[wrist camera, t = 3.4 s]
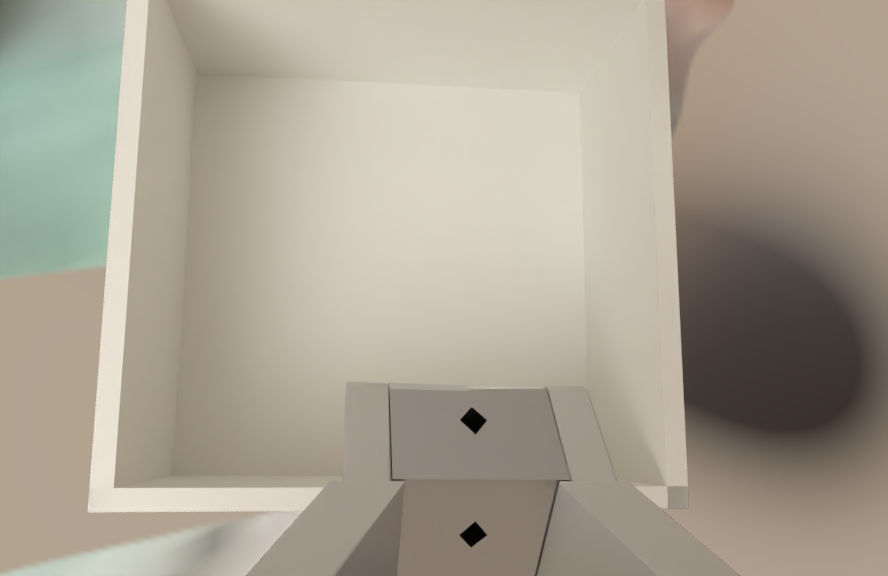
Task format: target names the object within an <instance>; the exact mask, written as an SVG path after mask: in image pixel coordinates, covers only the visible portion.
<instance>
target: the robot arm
mask: <svg viewBox="0 0 888 576" xmlns="http://www.w3.org/2000/svg"><path fill="white" fill-rule="evenodd" d="M246 576H740V575H739V574H737V573H736V572H735V571H734V570H733V569H732V568H730V567H729V566H728V565H727V564H725V563H724V562H723V561H722V560H721V559H720V558H719V557H717V556H716V555H715V554H714V553H712V552H711V551H710V550H709V549H708V548H707V547H706V546H704V545H703V544H702V543H701V542H699V541H698V540H697V539H696V538H695V537H694V536H692V535H691V534H690V533H689V532H688V531H687V530H685V529H684V528H683V527H682V526H681V525H679V524H678V523H677V522H676V521H675V520H674V519H672V518H671V517H670V516H669V515H667V514H666V513H665V512H664V511H663V510H662V509H661V508H659V507H658V506H657V505H656V504H655V503H653V502H652V501H651V500H650V499H649V498H648V497H646V496H645V495H644V494H643V493H642V492H640V491H639V490H638V489H637V488H636V487H634V486H633V485H632V484H631V483H630V482H617V479H616V476H615V473H614V469H613V466H612V463H611V460H610V457H609V454H608V451H607V448H606V445H605V442H604V439H603V436H602V433H601V430H600V427H599V424H598V421H597V418H596V415H595V412H594V409H593V406H592V403H591V399H590V396H589V393H588V391H587V390H586V389H585V388H584V387H583V386H544V387H541V386H461V385H436V384H411V383H388V386H387V384H386V383H367V382H347V385H346V390H345V417H344V446H343V476H342V481H329V483H328V484H327V485H326V486H325V487H324V488H323V489H322V491H321V492H320V493H319V494H318V495H317V496H316V497H315V498H314V500H313V501H312V502H311V503H310V504H309V505H308V506H307V507H306V509H305V510H304V511H303V512H302V513H301V514H300V515H299V516H298V518H297V519H296V520H295V521H294V522H293V523H292V524H291V525H290V527H289V528H288V529H287V530H286V531H285V532H284V533H283V534H282V536H281V537H280V538H279V539H278V540H277V541H276V542H275V543H274V545H273V546H272V547H271V548H270V549H269V550H268V551H267V553H266V554H265V555H264V556H263V557H262V558H261V559H260V560H259V562H258V563H257V564H256V565H255V566H254V567H253V568H252V569H251V571H250V572H249V573H248V574H247V575H246Z"/></svg>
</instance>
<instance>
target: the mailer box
mask: <svg viewBox="0 0 888 576" xmlns="http://www.w3.org/2000/svg"><path fill="white" fill-rule="evenodd" d="M679 309H680V308H679V288H678V266H677V245H676V224H675V203H674V183H673V162H672V140H671V119H670V97H669V76H668V55H667V34H666V13H665V0H127V5H126V18H125V31H124V44H123V57H122V70H121V83H120V96H119V109H118V122H117V135H116V149H115V162H114V175H113V188H112V201H111V214H110V227H109V240H108V253H107V266H106V279H105V293H104V305H103V318H102V331H101V344H100V357H99V370H98V383H97V397H96V409H95V410H96V411H95V423H94V435H93V448H92V462H91V475H90V489H89V502H88V512H203V511H204V512H206V511H208V512H211V511H304V510H305V509H306V507H307V506H308V505H309V504H310V503H311V502H312V501H313V500H314V498H315V497H316V496H317V495H318V494H319V493H320V492H321V491H322V489H323V488H324V487H325V486H326V485H327V484H328V483H329V481H342V476H343V446H344V417H345V390H346V385H347V382H367V383H386V384H387V386H388V383H411V384H436V385H461V386H541V387H544V386H583V387H584V388H585V389H586V390H587V391H588V393H589V396H590V399H591V403H592V406H593V409H594V412H595V415H596V418H597V421H598V424H599V427H600V430H601V433H602V436H603V439H604V442H605V445H606V448H607V451H608V454H609V457H610V460H611V463H612V466H613V469H614V473H615V476H616V479H617V482H630V483H631V484H632V485H633V486H634V487H636V488H637V489H638V490H639V491H640V492H642V493H643V494H644V495H645V496H646V497H648V498H649V499H650V500H651V501H652V502H653V503H655V504H656V505H657V506H658V507H659V508H661V509H675V508H676V509H678V508H679V509H681V508H682V509H684V508H685V509H686V508H687V509H688V508H689V500H688V477H687V457H686V436H685V415H684V393H683V372H682V352H681V331H680V310H679Z"/></svg>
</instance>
